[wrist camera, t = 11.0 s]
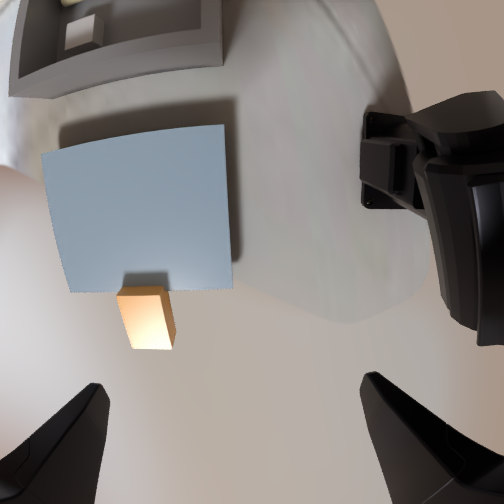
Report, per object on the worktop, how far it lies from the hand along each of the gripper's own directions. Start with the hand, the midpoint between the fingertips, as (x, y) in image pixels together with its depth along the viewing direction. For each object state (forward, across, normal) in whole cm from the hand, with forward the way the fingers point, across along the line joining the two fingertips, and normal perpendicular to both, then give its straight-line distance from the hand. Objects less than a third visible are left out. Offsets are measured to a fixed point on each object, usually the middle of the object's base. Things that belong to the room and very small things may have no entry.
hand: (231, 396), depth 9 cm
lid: (+12, +6, -1) cm, 13 cm away
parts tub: (+12, +6, -17) cm, 22 cm away
